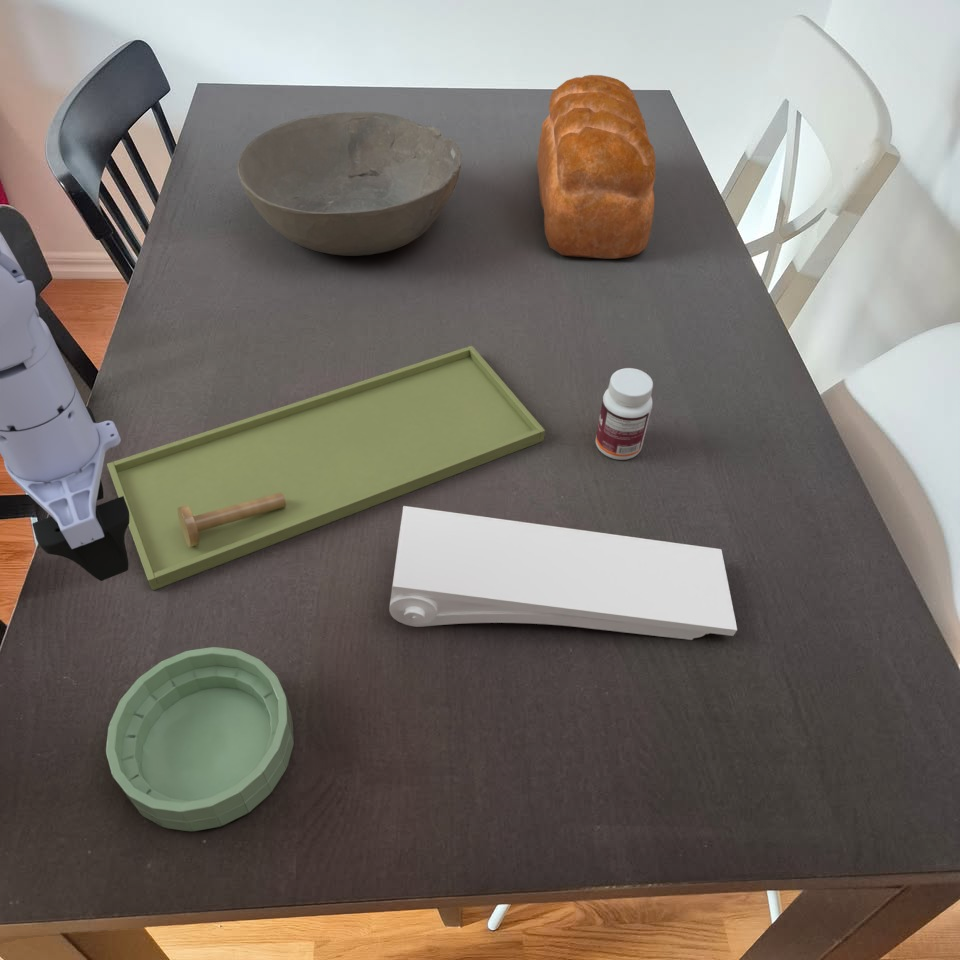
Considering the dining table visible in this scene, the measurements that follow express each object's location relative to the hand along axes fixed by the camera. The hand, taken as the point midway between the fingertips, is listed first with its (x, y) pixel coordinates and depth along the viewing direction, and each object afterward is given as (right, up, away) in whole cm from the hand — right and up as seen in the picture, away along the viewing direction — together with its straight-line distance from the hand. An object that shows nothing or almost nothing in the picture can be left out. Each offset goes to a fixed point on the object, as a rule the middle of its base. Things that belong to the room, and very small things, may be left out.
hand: (100, 535), depth 61 cm
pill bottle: (+42, +7, +23) cm, 48 cm away
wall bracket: (+35, -6, +11) cm, 37 cm away
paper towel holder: (+2, 0, +11) cm, 11 cm away
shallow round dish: (+8, -16, 0) cm, 18 cm away
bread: (+43, +41, +54) cm, 81 cm away
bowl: (+11, +38, +50) cm, 63 cm away
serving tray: (+14, +6, +20) cm, 25 cm away
